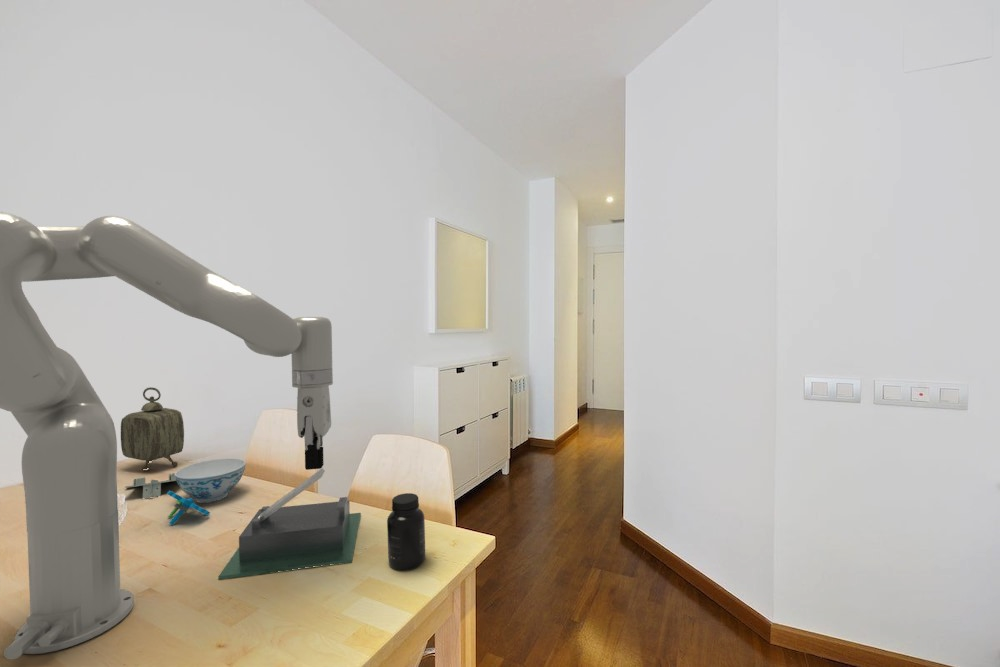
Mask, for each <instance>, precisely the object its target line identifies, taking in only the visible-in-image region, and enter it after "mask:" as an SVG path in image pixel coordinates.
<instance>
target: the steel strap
mask: <svg viewBox="0 0 1000 667" xmlns="http://www.w3.org/2000/svg"><path fill="white" fill-rule="evenodd" d="M325 471H326V470H324V468H323V467H322V468H321V469H318V471H316V472H315V473H314V474H312V475H311V476H309V478H307V479H305V480H304V481H303V482H302V483H300V484H299V485H298V486H296V487H295V488H293V489H292V490H291V491H289V492H288V493H286V494H285V495H284V496H282V497H281V498H280V499H278V500H277V501H276V502H273V504H272V505H269V508H267V509H266V510H265V511H263V512H262V513H261V514H260V515H259V517H258V518H261V522H262V521H263V520H264V519H266V518H267V517H269V516H270V515H271V514H273V513H274V512H275V511H277V510H278V509H279V508H281V507H284V506H285V505H287V503H289V502H290V501H291V500H293V499H294V498H296V497H297V496H298V495H300V494H301V493H302V492H304V491H305V490H306V489H308V488H309V487H310V486H312V485H313V484H314V483H316V482H317V481H318V480H320V479H321V478H322V477H323V476H324V473H325ZM258 518H257V519H258Z"/></svg>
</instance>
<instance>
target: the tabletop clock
mask: <svg viewBox="0 0 1000 667" xmlns="http://www.w3.org/2000/svg"><path fill="white" fill-rule="evenodd" d="M149 390H151V391H155V392H156V393H157V394H158V397H157V398H155V397H154V396H152V395H151V396H150V397H149V398H148V397H147V396H146V392H147V391H149ZM161 395H162V394H161V391H160V390H159V389H157V387H146V388H145V389H144V390H143V391H142V396H143V398H144V400H146V401H148V402H146V403H145V404H143V405H142V407H141V409H140V411H136V412H131V413H128V414H127V415H125V416H124V417H123V418H121V421H120V446H121V447H120V448H121V453H122V455H123V456H124V457H125V458H130V459H132V460H133V459H135V460H139V461H145V465H144V466H142V468H143V469H147V468H149V469H150V466H149V464H148V463H149V461H152V460H153V461H156V460H160V459H163V458H164V459H167V461H169V462H171V467H173V468H176V467H178V463H179V462H178V461H174V460H173V459H172V458H171V456H173V455H176V454H179V453H182V452H183V449H184V444H185V442H184V441H185V427H184V419H183V415H182V412H181V411H179V410H178V409H175V408H168V407H164V406H163V405H162V404H161V403H160V402H156V401H159V400H160V399H161ZM153 461H152V462H153ZM175 466H176V467H175ZM143 469H142V470H143Z"/></svg>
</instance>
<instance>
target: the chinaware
mask: <svg viewBox="0 0 1000 667" xmlns="http://www.w3.org/2000/svg"><path fill="white" fill-rule="evenodd" d="M245 469H246V460H244V459H241V458H237V457H235V458H234V457H232V458H231V457H226V458H224V457H223V458H215V459H214V458H213V459H210V460H204V461H199V462H195V463H192V464H191V463H190V464H188V465H186V466H183V467H180V468H179V469H178V470H176V471H175V472H174V473H175V478H176V481H175V482H176V483H177V485H178V487H179V488H180V489H181V491H182V492H183V493H185V494H186V495H187V496H190V498H195V501H196V502H197V501H198V502H197V503H201V502H206V503H212V501H213V502H217V501H220V500H222V498H223V499H225V498H226V497H228V494H229V492H230V491H232V490H233V489H234V488H235V487H236V486H237V485H238V483H239V482H240V480H241V479H242V477H243V475H244V472H245ZM224 497H225V498H224ZM216 500H217V501H216Z"/></svg>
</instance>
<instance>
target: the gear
mask: <svg viewBox="0 0 1000 667" xmlns="http://www.w3.org/2000/svg"><path fill="white" fill-rule="evenodd" d="M166 495H168V496H169V497H172V498H173V499H175V502H176V503H175V505H174V508H173V510H172V511H171V512H170V514H168V516H167V517H168V519H171V520H170V521H169V522H168V524H170V525H172V526H174V525H175V524H176V523H177V521H178V520H179V519H180V518H181V516H182V515H183V514H184V513H187V512H188V510H189V509H191V508H192V509H193V510H195V511H197V512H200V513H201V514H203V515H206V516H209V515H210V513H211V512H210V511H208V510H207V509H205V508H203V507H201V506H199V505H198V504H196V503H195V502H194V501H195V499H193V497H189V498H185V497H183V496H182V495H179V494H177V493H176V492H174V491H171V490H168V491H167V493H166Z"/></svg>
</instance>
